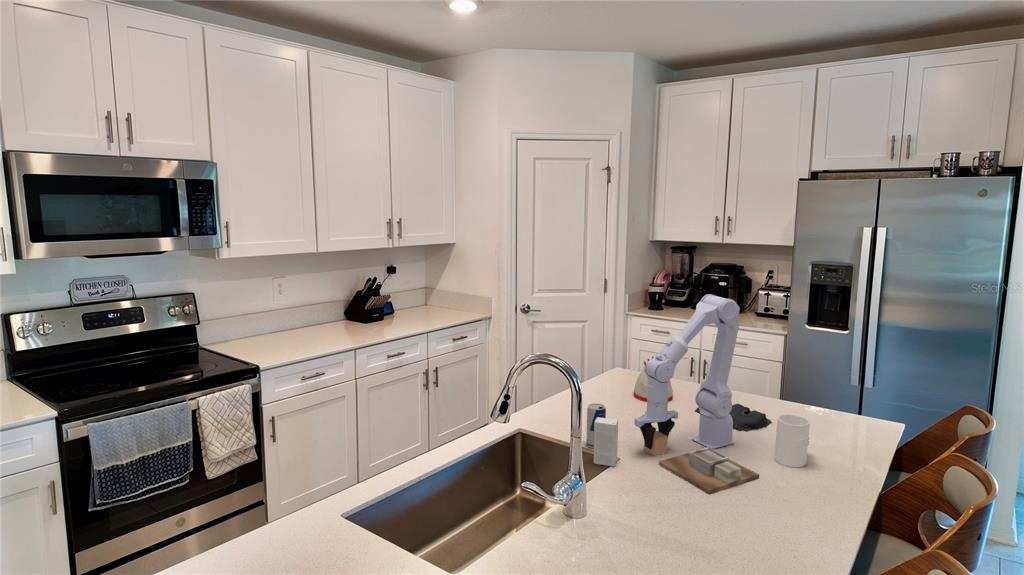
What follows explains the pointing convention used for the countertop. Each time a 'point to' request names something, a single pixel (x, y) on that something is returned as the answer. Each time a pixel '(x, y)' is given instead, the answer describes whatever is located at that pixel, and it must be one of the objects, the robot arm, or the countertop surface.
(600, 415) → the energy drink
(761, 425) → the dark slate chunk
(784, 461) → the mug
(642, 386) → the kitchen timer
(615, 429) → the skincare box
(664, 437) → the terracotta block
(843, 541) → the countertop surface
